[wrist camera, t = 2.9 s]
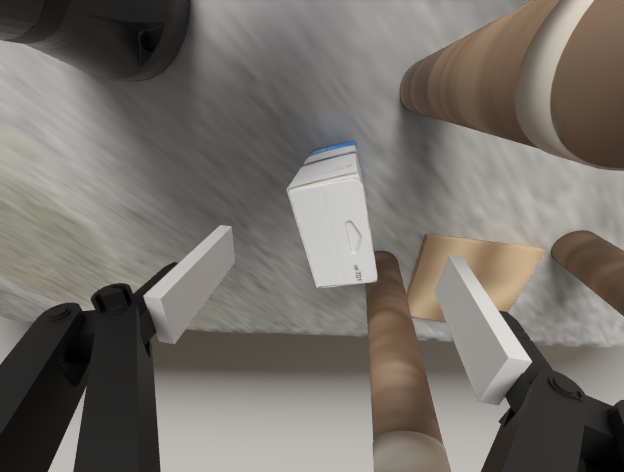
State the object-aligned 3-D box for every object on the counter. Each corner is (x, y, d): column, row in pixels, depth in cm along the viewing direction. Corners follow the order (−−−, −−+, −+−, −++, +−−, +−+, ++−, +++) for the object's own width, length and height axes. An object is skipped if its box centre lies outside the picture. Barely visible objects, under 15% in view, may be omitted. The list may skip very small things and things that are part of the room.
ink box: (309, 150, 26) (279, 186, 16) (359, 138, 25) (361, 169, 14) (327, 224, 30) (312, 291, 20) (370, 217, 28) (379, 285, 18)
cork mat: (400, 310, 34) (401, 314, 34) (425, 233, 28) (427, 237, 28) (494, 324, 33) (497, 329, 32) (541, 247, 27) (546, 251, 26)
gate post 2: (394, 111, 23) (510, 160, 6) (405, 56, 21) (636, -123, 4) (441, 115, 23) (717, 180, 5) (457, 59, 21) (990, -128, 3)
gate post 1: (361, 275, 32) (368, 480, 15) (367, 248, 30) (381, 450, 13) (394, 280, 32) (438, 496, 15) (401, 253, 30) (464, 467, 13)
